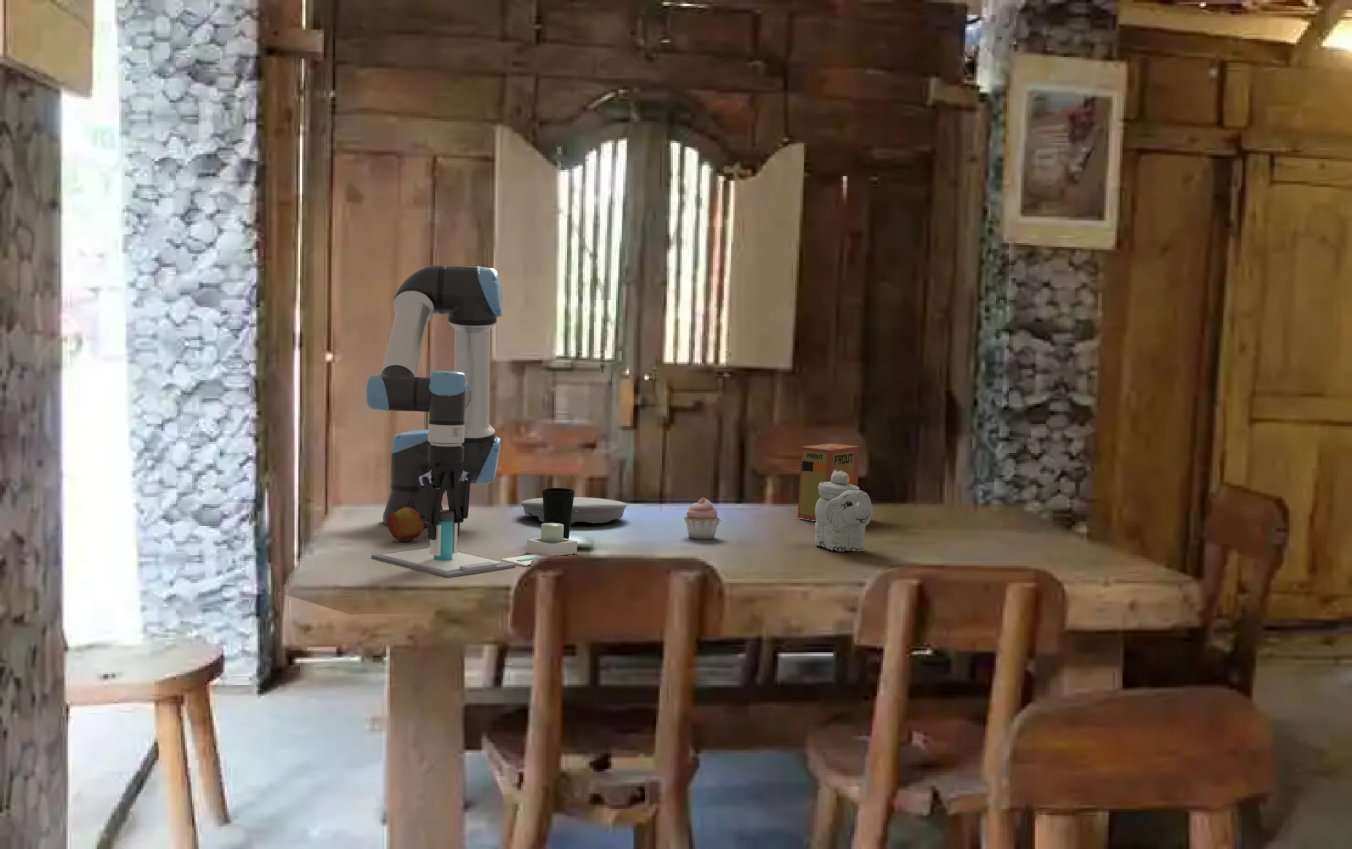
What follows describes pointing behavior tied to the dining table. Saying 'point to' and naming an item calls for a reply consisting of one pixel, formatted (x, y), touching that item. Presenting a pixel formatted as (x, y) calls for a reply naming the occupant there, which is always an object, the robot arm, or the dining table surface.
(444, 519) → the teal bottle
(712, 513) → the cupcake
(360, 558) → the dining table surface
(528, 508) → the flat disc
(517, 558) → the card
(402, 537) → the apple
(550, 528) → the button
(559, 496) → the cup
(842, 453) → the box
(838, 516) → the white elephant jar
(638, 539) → the dining table surface
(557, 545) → the button box
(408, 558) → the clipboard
